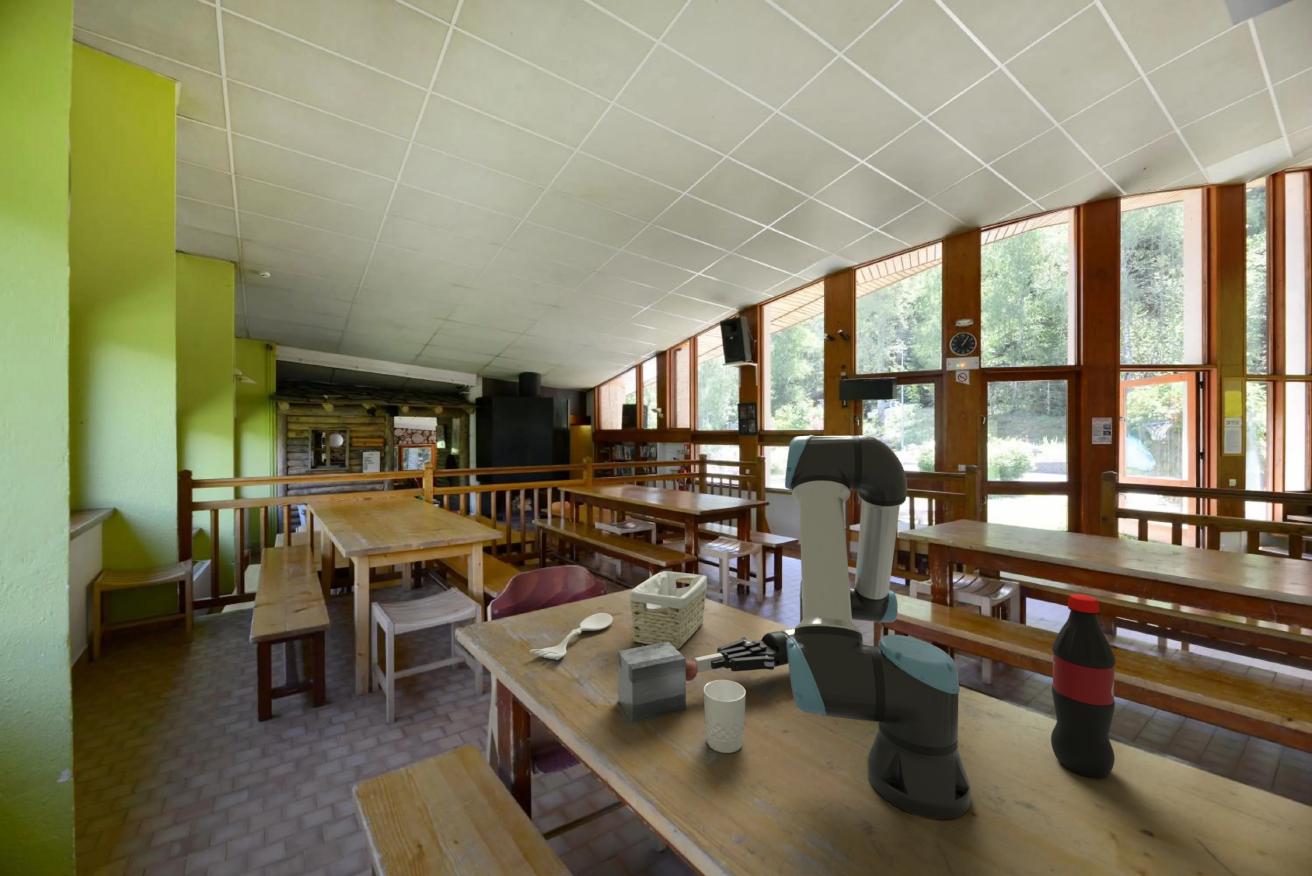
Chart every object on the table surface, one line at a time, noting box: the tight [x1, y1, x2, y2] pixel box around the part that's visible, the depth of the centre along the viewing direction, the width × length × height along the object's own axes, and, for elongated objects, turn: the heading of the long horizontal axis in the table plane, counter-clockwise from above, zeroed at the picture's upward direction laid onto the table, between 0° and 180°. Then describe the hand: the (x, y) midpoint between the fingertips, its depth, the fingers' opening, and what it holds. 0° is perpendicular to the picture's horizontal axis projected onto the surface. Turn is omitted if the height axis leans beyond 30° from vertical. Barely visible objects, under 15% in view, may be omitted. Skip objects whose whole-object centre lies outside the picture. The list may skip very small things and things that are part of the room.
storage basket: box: [629, 570, 708, 650], centre depth 146 cm, size 24×16×15 cm
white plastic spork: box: [528, 612, 614, 661], centre depth 141 cm, size 9×32×4 cm, turn 156°
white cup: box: [703, 679, 747, 754], centre depth 95 cm, size 8×8×10 cm
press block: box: [617, 642, 687, 724], centre depth 107 cm, size 12×9×11 cm
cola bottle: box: [1050, 593, 1116, 778], centre depth 87 cm, size 8×8×30 cm
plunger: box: [686, 660, 698, 682], centre depth 109 cm, size 14×4×4 cm, turn 113°
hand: (696, 665), depth 112 cm, fingers closed
